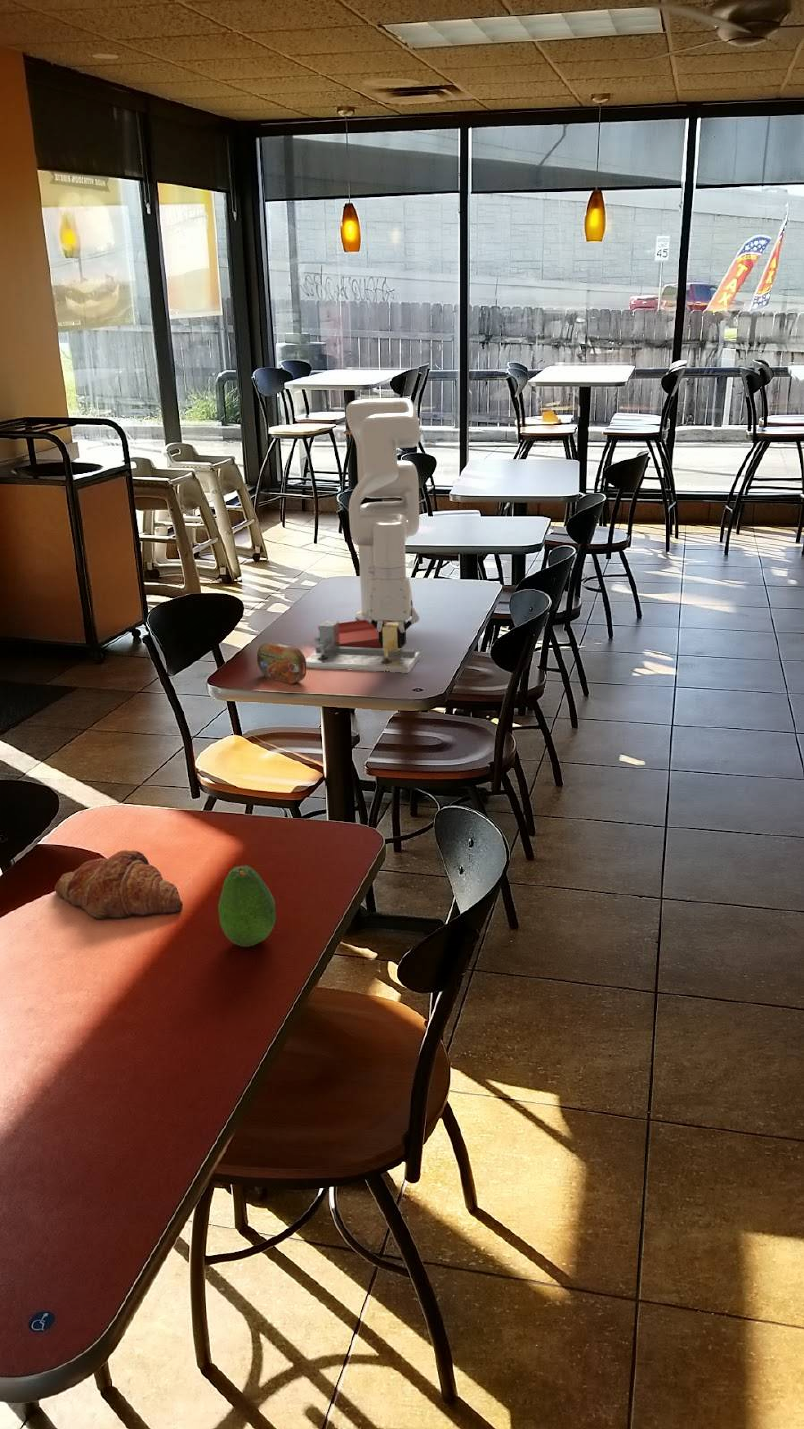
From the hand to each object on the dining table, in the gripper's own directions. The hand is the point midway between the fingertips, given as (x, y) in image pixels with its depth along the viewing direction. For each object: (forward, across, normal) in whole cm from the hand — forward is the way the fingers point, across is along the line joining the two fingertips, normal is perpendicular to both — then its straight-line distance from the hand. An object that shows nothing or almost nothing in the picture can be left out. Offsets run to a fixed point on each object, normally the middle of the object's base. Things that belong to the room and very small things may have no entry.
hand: (392, 645), depth 279 cm
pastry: (+4, -11, -122) cm, 122 cm away
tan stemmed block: (+2, 0, -2) cm, 3 cm away
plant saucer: (+4, -13, +15) cm, 20 cm away
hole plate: (+4, -7, -3) cm, 8 cm away
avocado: (+4, +13, -129) cm, 130 cm away
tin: (+4, -22, -18) cm, 29 cm away
